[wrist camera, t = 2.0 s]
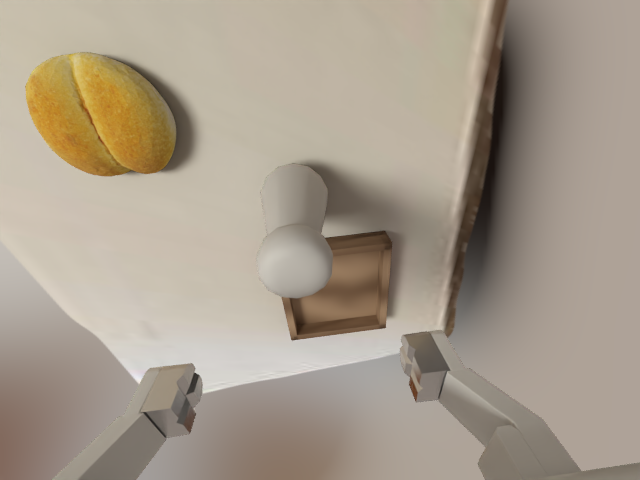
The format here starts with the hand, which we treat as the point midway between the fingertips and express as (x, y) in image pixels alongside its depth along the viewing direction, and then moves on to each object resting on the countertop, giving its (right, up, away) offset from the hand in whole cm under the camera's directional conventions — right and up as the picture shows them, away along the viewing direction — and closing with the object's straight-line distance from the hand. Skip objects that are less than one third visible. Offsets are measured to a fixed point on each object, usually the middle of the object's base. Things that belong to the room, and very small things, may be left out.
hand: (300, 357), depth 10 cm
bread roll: (-15, +14, +11) cm, 23 cm away
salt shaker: (-2, +10, +15) cm, 18 cm away
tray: (+2, -1, +21) cm, 21 cm away
